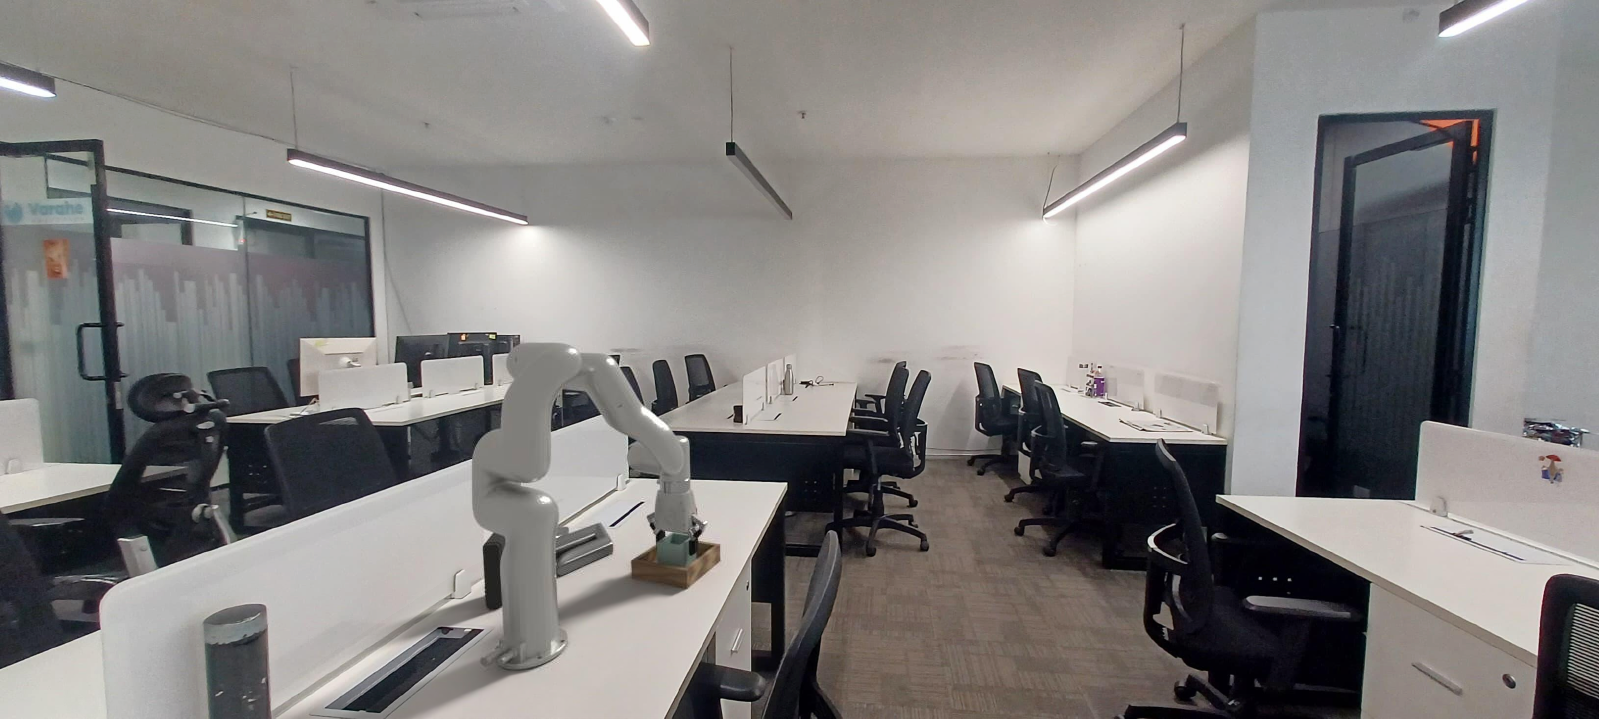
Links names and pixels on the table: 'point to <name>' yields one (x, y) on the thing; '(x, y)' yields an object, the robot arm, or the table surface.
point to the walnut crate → (673, 575)
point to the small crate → (675, 550)
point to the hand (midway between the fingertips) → (677, 550)
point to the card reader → (493, 570)
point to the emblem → (581, 547)
